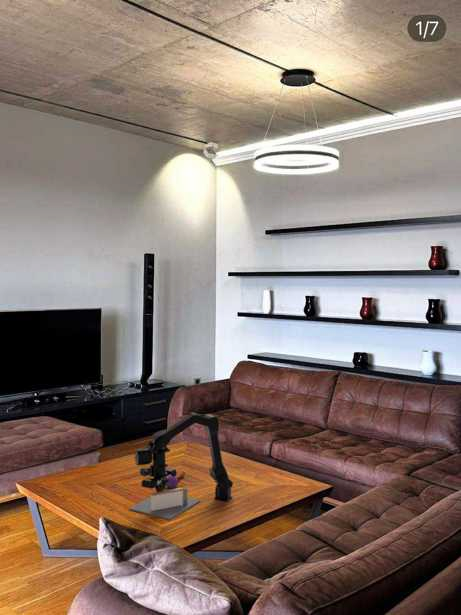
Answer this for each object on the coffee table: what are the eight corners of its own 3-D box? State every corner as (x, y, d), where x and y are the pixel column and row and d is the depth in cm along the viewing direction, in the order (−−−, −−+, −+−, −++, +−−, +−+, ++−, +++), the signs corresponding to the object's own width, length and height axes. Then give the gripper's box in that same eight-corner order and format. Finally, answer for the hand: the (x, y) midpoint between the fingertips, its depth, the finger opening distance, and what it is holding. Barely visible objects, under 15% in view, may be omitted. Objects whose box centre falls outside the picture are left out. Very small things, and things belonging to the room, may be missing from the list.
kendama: (188, 469, 304) (176, 478, 285) (186, 480, 305) (174, 491, 285) (177, 465, 306) (165, 475, 286) (175, 477, 306) (162, 487, 286)
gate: (180, 503, 265) (180, 487, 265) (182, 505, 264) (182, 488, 263) (151, 509, 258) (151, 492, 258) (152, 510, 257) (152, 494, 256)
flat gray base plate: (200, 501, 271) (200, 484, 270) (170, 520, 250) (170, 501, 249) (160, 492, 281) (161, 475, 281) (128, 509, 260) (128, 491, 260)
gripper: (157, 453, 273) (157, 486, 274) (131, 465, 257) (131, 500, 258) (177, 457, 268) (177, 490, 269) (151, 469, 252) (152, 505, 253)
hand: (159, 496), depth 262 cm, fingers closed
